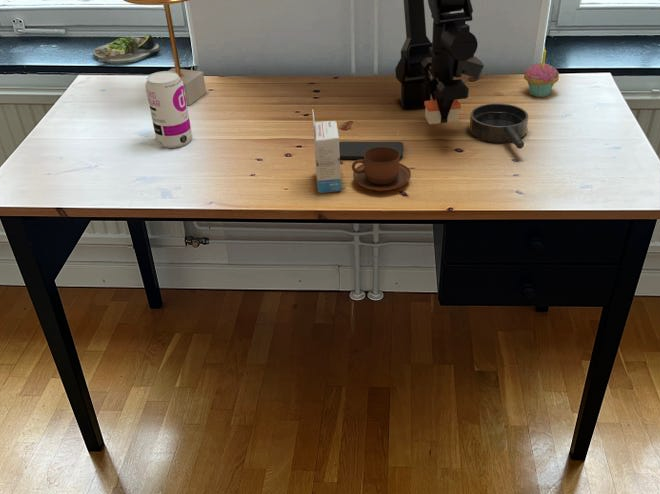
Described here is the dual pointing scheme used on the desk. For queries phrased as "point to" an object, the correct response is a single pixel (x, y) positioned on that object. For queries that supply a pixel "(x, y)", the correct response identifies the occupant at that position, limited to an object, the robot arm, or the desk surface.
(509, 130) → the pan handle
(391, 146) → the phone
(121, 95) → the desk surface
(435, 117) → the sushi
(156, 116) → the supplement can
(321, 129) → the ink box
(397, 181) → the cup and saucer
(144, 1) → the lamp
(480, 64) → the robot arm
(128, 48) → the salad plate
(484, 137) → the pan
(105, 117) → the desk surface
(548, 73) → the cupcake
